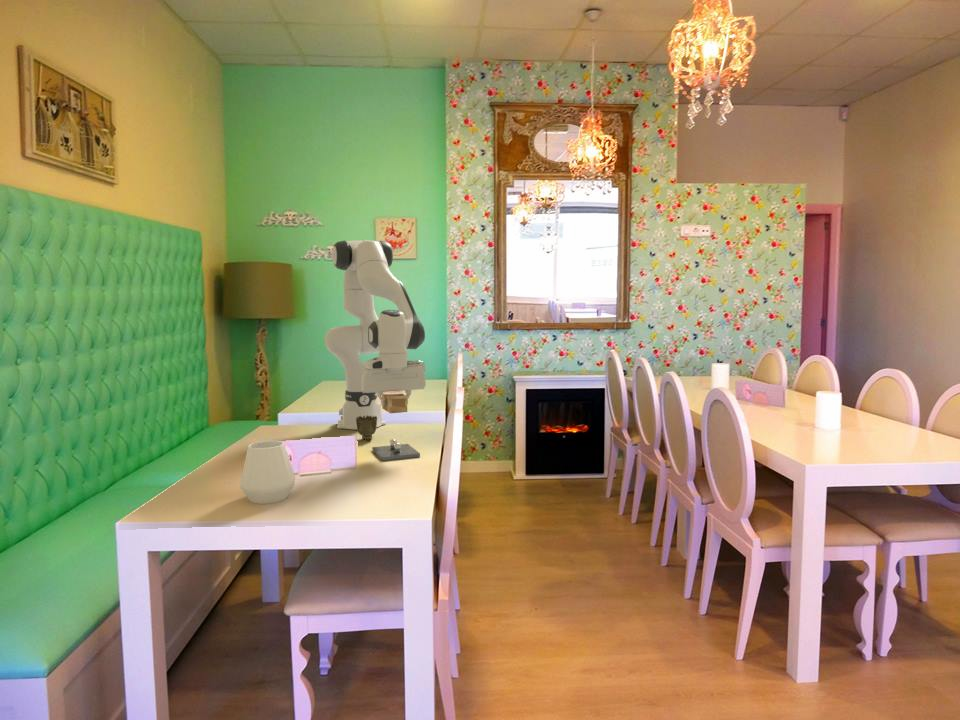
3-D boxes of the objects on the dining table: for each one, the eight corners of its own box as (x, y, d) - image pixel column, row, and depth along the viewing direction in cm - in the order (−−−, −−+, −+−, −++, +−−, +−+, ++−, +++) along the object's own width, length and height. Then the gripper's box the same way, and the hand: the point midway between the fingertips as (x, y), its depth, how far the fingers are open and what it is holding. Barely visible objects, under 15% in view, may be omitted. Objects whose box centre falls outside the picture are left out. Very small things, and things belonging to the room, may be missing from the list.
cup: (375, 441, 225) (375, 419, 224) (354, 442, 225) (353, 419, 225) (379, 437, 233) (378, 415, 232) (358, 437, 233) (358, 415, 232)
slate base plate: (372, 450, 213) (371, 438, 212) (407, 447, 217) (407, 435, 217) (382, 461, 200) (382, 448, 199) (420, 457, 204) (419, 444, 204)
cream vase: (231, 498, 165) (228, 444, 164) (278, 486, 175) (276, 435, 173) (257, 510, 156) (254, 453, 155) (306, 496, 166) (304, 443, 164)
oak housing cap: (382, 408, 210) (382, 393, 210) (399, 407, 212) (398, 391, 212) (390, 413, 201) (389, 397, 201) (407, 412, 203) (407, 396, 203)
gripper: (422, 359, 212) (422, 401, 213) (359, 362, 204) (360, 405, 206) (427, 360, 206) (428, 404, 208) (363, 364, 199) (365, 408, 200)
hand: (394, 404), depth 207 cm, fingers closed on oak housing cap, 5 cm apart
